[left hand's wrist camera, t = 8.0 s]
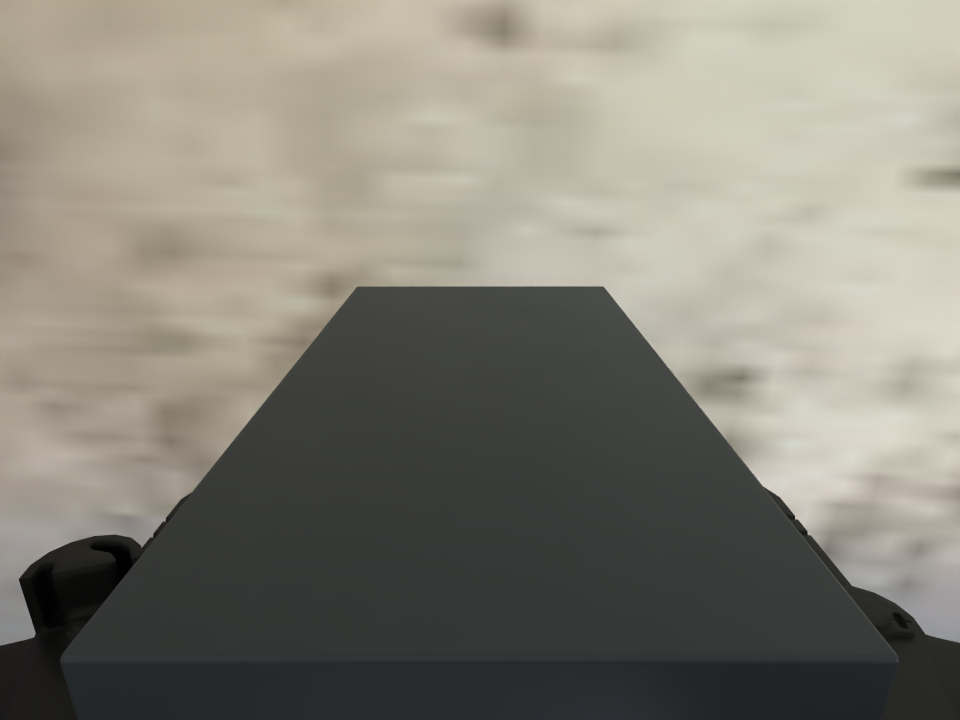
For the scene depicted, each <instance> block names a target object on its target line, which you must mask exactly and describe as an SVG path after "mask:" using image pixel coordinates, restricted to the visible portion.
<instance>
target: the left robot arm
mask: <svg viewBox="0 0 960 720" xmlns="http://www.w3.org/2000/svg"><path fill="white" fill-rule="evenodd" d="M764 488H765V487H764ZM765 490H766V491H767V492H768V493H769V495H770V496H771V497H772V498H773V500H774V501H775V502H776V503H777V505H778V506H779V507H780V508H781V510H782V511H783V512H784V513H785V515H786V516H787V517H788V519H789V520H790V521H791V522H792V524H793V525H794V526H795V527H796V529H797V530H798V531H799V532H800V534H801V535H802V536H803V537H804V539H805V540H806V541H807V542H808V544H809V545H810V546H811V547H812V549H813V550H814V551H815V552H816V554H817V555H818V556H819V557H820V559H821V560H822V561H823V562H824V564H825V565H826V566H827V567H828V569H829V570H830V571H831V572H832V574H833V575H834V576H835V577H836V579H837V580H838V581H839V582H840V584H841V585H842V586H843V587H844V589H845V590H846V591H847V592H848V594H849V595H850V596H851V597H852V599H853V600H854V601H855V602H856V604H857V605H858V606H859V608H860V609H861V610H862V611H863V613H864V614H865V615H866V616H867V618H868V619H869V620H870V621H871V623H872V624H873V625H874V626H875V628H876V629H877V630H878V631H879V633H880V634H881V635H882V636H883V638H884V639H885V640H886V641H887V643H888V644H889V645H890V646H891V648H892V649H893V650H894V651H895V653H896V654H897V656H898V659H899V665H898V668H897V672H896V675H895V678H894V682H893V685H892V688H891V692H890V695H889V698H888V702H887V705H886V708H885V712H884V715H883V718H882V720H960V643H958V642H953V641H949V640H944V639H940V638H936V637H932V636H929V635H925V633H924V632H923V630H922V629H921V628H920V626H919V625H918V623H917V622H916V621H915V619H914V618H913V617H912V616H911V615H909V614H908V613H907V612H906V611H904V610H903V609H902V608H901V607H899V606H898V605H897V604H895V603H893V602H892V601H890V600H888V599H886V598H884V597H882V596H880V595H878V594H876V593H873V592H870V591H867V590H863V589H860V588H857V587H853V586H851V584H850V583H849V582H848V581H847V579H846V578H845V577H844V576H843V574H842V573H841V572H840V571H839V570H838V568H837V567H836V566H835V565H834V563H833V562H832V561H831V560H830V558H829V557H828V556H827V555H826V554H825V552H824V551H823V550H822V549H821V547H820V546H819V545H818V544H817V543H816V541H815V540H814V539H813V538H812V536H811V535H808V534H807V530H806V529H805V528H804V527H803V525H802V524H801V523H800V522H799V520H795V515H794V514H793V513H792V512H791V511H790V509H789V508H788V507H787V506H786V504H785V503H784V502H783V501H782V499H781V498H780V497H778V496H777V495H775V494H774V493H772V492H771V491H769V490H768V489H766V488H765ZM190 494H191V493H190ZM190 494H189V495H187V496H186V497H184V498H183V499H181V500H180V501H179V503H178V504H177V505H176V506H175V508H174V509H173V510H172V511H171V513H170V514H169V515H168V516H167V517H166V522H162V524H161V525H160V526H159V527H158V529H157V530H156V531H155V532H154V536H153V538H150V539H149V540H148V541H147V542H146V543H145V545H144V546H143V547H142V548H141V545H140V544H138V543H137V542H136V541H135V540H133V539H132V538H130V537H124V536H119V535H104V536H93V537H90V538H86V539H82V540H78V541H74V542H71V543H69V544H67V545H64V546H62V547H60V548H58V549H55V550H53V551H51V552H49V553H47V554H46V555H45V556H43V557H42V558H40V559H39V560H37V561H36V562H34V563H33V564H32V565H30V566H29V568H28V569H27V570H26V571H25V572H24V574H23V575H22V576H21V577H20V578H19V582H20V585H21V588H22V591H23V594H24V597H25V600H26V604H27V607H28V610H29V613H30V616H31V619H32V622H33V626H34V629H35V632H36V635H35V637H34V638H31V639H27V640H24V641H19V642H15V643H10V644H6V645H2V646H0V720H77V717H76V714H75V710H74V707H73V704H72V701H71V697H70V694H69V691H68V687H67V684H66V681H65V677H64V674H63V671H62V668H61V664H60V659H61V656H62V654H63V653H64V651H65V650H66V649H67V648H68V646H69V645H70V644H71V643H72V641H73V640H74V639H75V638H76V636H77V635H78V634H79V633H80V631H81V630H82V629H83V628H84V626H85V625H86V624H87V623H88V621H89V620H90V619H91V618H92V616H93V615H94V614H95V613H96V611H97V610H98V609H99V608H100V606H101V605H102V604H103V603H104V601H105V600H106V599H107V598H108V597H109V595H110V594H111V593H112V592H113V590H114V589H115V588H116V587H117V585H118V584H119V583H120V582H121V580H122V579H123V578H124V577H125V575H126V574H127V573H128V572H129V570H130V569H131V568H132V567H133V565H134V564H135V563H136V562H137V560H138V559H139V558H140V557H141V555H142V554H143V553H144V552H145V550H146V549H147V548H148V547H149V545H150V544H151V543H152V542H153V540H154V539H155V538H156V537H157V535H158V534H159V533H160V532H161V531H162V529H163V528H164V527H165V526H166V524H167V523H168V522H169V521H170V519H171V518H172V517H173V516H174V514H175V513H176V512H177V511H178V509H179V508H180V507H181V506H182V504H183V503H184V502H185V501H186V499H187V498H188V497H189V496H190Z"/></svg>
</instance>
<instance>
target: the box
mask: <svg viewBox="0 0 960 720" xmlns="http://www.w3.org/2000/svg"><path fill="white" fill-rule="evenodd" d="M60 664H61V668H62V671H63V674H64V677H65V681H66V684H67V687H68V691H69V694H70V697H71V701H72V704H73V707H74V710H75V714H76V717H77V720H882V718H883V715H884V712H885V708H886V705H887V702H888V698H889V695H890V692H891V688H892V685H893V682H894V678H895V675H896V672H897V668H898V665H899V659H898V656H897V654H896V653H895V651H894V650H893V649H892V648H891V646H890V645H889V644H888V643H887V641H886V640H885V639H884V638H883V636H882V635H881V634H880V633H879V631H878V630H877V629H876V628H875V626H874V625H873V624H872V623H871V621H870V620H869V619H868V618H867V616H866V615H865V614H864V613H863V611H862V610H861V609H860V608H859V606H858V605H857V604H856V602H855V601H854V600H853V599H852V597H851V596H850V595H849V594H848V592H847V591H846V590H845V589H844V587H843V586H842V585H841V584H840V582H839V581H838V580H837V579H836V577H835V576H834V575H833V574H832V572H831V571H830V570H829V569H828V567H827V566H826V565H825V564H824V562H823V561H822V560H821V559H820V557H819V556H818V555H817V554H816V552H815V551H814V550H813V549H812V547H811V546H810V545H809V544H808V542H807V541H806V540H805V539H804V537H803V536H802V535H801V534H800V532H799V531H798V530H797V529H796V527H795V526H794V525H793V524H792V522H791V521H790V520H789V519H788V517H787V516H786V515H785V513H784V512H783V511H782V510H781V508H780V507H779V506H778V505H777V503H776V502H775V501H774V500H773V498H772V497H771V496H770V495H769V493H768V492H767V491H766V490H765V488H764V487H763V486H762V485H761V483H760V482H759V481H758V480H757V478H756V477H755V476H754V475H753V473H752V472H751V471H750V470H749V468H748V467H747V466H746V465H745V463H744V462H743V461H742V460H741V458H740V457H739V456H738V455H737V453H736V452H735V451H734V450H733V448H732V447H731V446H730V445H729V443H728V442H727V441H726V440H725V438H724V437H723V436H722V435H721V433H720V432H719V431H718V430H717V428H716V427H715V426H714V425H713V423H712V422H711V421H710V419H709V418H708V417H707V416H706V414H705V413H704V412H703V411H702V409H701V408H700V407H699V406H698V404H697V403H696V402H695V401H694V399H693V398H692V397H691V396H690V394H689V393H688V392H687V391H686V389H685V388H684V387H683V386H682V384H681V383H680V382H679V381H678V379H677V378H676V377H675V376H674V374H673V373H672V372H671V371H670V369H669V368H668V367H667V366H666V364H665V363H664V362H663V361H662V359H661V358H660V357H659V356H658V354H657V353H656V352H655V351H654V349H653V348H652V347H651V346H650V344H649V343H648V342H647V341H646V339H645V338H644V337H643V336H642V334H641V333H640V332H639V330H638V329H637V328H636V327H635V325H634V324H633V323H632V322H631V320H630V319H629V318H628V317H627V315H626V314H625V313H624V312H623V310H622V309H621V308H620V307H619V305H618V304H617V303H616V302H615V300H614V299H613V298H612V297H611V295H610V294H609V293H608V292H607V290H606V289H605V288H604V287H357V288H356V289H355V290H354V291H353V293H352V294H351V295H350V296H349V298H348V299H347V300H346V301H345V303H344V304H343V305H342V306H341V308H340V309H339V310H338V311H337V313H336V314H335V315H334V316H333V318H332V319H331V320H330V321H329V323H328V324H327V325H326V326H325V328H324V329H323V330H322V331H321V333H320V334H319V335H318V336H317V338H316V339H315V340H314V341H313V342H312V344H311V345H310V346H309V347H308V349H307V350H306V351H305V352H304V354H303V355H302V356H301V357H300V359H299V360H298V361H297V362H296V364H295V365H294V366H293V367H292V369H291V370H290V371H289V372H288V374H287V375H286V376H285V377H284V379H283V380H282V381H281V382H280V384H279V385H278V386H277V387H276V389H275V390H274V391H273V392H272V394H271V395H270V396H269V397H268V399H267V400H266V401H265V402H264V403H263V405H262V406H261V407H260V408H259V410H258V411H257V412H256V413H255V415H254V416H253V417H252V418H251V420H250V421H249V422H248V423H247V425H246V426H245V427H244V428H243V430H242V431H241V432H240V433H239V435H238V436H237V437H236V438H235V440H234V441H233V442H232V443H231V445H230V446H229V447H228V448H227V450H226V451H225V452H224V453H223V455H222V456H221V457H220V458H219V460H218V461H217V462H216V463H215V465H214V466H213V467H212V468H211V469H210V471H209V472H208V473H207V474H206V476H205V477H204V478H203V479H202V481H201V482H200V483H199V484H198V486H197V487H196V488H195V489H194V491H193V492H192V493H191V494H190V496H189V497H188V498H187V499H186V501H185V502H184V503H183V504H182V506H181V507H180V508H179V509H178V511H177V512H176V513H175V514H174V516H173V517H172V518H171V519H170V521H169V522H168V523H167V524H166V526H165V527H164V528H163V529H162V531H161V532H160V533H159V534H158V535H157V537H156V538H155V539H154V540H153V542H152V543H151V544H150V545H149V547H148V548H147V549H146V550H145V552H144V553H143V554H142V555H141V557H140V558H139V559H138V560H137V562H136V563H135V564H134V565H133V567H132V568H131V569H130V570H129V572H128V573H127V574H126V575H125V577H124V578H123V579H122V580H121V582H120V583H119V584H118V585H117V587H116V588H115V589H114V590H113V592H112V593H111V594H110V595H109V597H108V598H107V599H106V600H105V601H104V603H103V604H102V605H101V606H100V608H99V609H98V610H97V611H96V613H95V614H94V615H93V616H92V618H91V619H90V620H89V621H88V623H87V624H86V625H85V626H84V628H83V629H82V630H81V631H80V633H79V634H78V635H77V636H76V638H75V639H74V640H73V641H72V643H71V644H70V645H69V646H68V648H67V649H66V650H65V651H64V653H63V654H62V656H61V659H60Z"/></svg>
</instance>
